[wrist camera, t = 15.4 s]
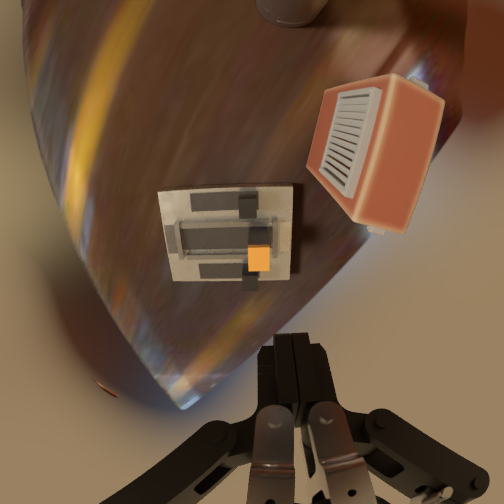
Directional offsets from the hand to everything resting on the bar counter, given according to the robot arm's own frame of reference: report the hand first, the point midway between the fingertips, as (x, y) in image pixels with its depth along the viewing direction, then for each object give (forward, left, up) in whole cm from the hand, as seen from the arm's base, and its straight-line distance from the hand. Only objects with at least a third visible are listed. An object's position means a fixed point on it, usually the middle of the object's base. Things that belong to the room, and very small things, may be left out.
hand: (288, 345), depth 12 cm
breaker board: (+9, -6, -32) cm, 34 cm away
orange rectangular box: (-7, +10, -32) cm, 34 cm away
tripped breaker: (+9, -1, -30) cm, 31 cm away
